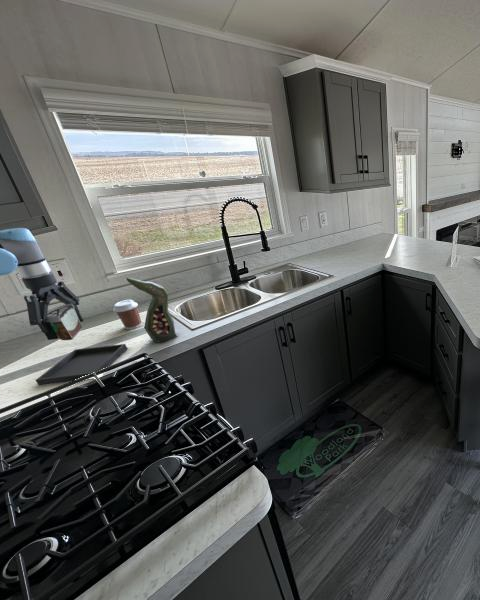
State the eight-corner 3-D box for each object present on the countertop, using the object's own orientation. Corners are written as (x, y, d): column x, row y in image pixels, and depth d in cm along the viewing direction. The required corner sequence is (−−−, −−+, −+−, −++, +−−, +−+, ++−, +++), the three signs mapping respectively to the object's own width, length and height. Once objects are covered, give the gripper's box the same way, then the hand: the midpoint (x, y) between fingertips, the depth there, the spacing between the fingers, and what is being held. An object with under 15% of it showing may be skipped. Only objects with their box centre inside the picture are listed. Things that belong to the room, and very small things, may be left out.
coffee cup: (122, 332, 149) (111, 309, 144) (121, 325, 155) (110, 302, 150) (146, 325, 154) (136, 302, 149) (144, 319, 161) (134, 296, 156)
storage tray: (96, 378, 119) (93, 373, 118) (38, 385, 116) (35, 380, 115) (127, 348, 136) (125, 343, 135) (77, 354, 134) (75, 349, 133)
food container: (64, 329, 124) (51, 306, 119) (84, 326, 126) (72, 302, 122) (48, 345, 113) (33, 320, 109) (71, 341, 116) (57, 316, 111)
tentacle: (147, 340, 142) (119, 276, 129) (178, 328, 151) (154, 267, 138) (155, 346, 137) (127, 280, 124) (186, 334, 146) (163, 271, 133)
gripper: (52, 264, 120) (78, 315, 130) (-11, 289, 99) (27, 349, 108) (74, 262, 122) (99, 313, 131) (18, 287, 100) (52, 346, 109)
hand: (67, 330), depth 120 cm, fingers closed on food container, 12 cm apart
